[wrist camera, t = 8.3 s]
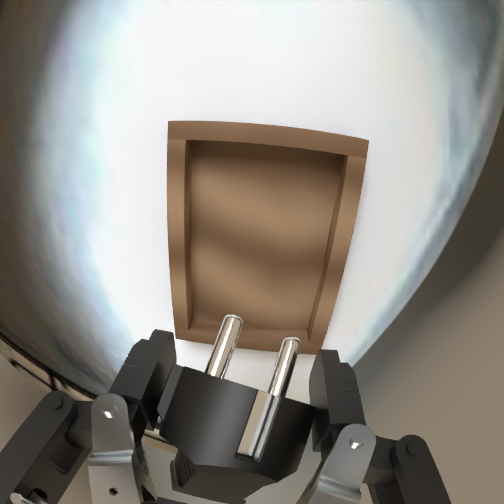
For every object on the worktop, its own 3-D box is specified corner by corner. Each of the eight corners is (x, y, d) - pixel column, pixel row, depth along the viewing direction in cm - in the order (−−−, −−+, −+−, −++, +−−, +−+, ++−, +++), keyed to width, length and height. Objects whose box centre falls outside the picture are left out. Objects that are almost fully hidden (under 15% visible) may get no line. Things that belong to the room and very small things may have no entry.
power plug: (146, 430, 15) (124, 501, 5) (184, 332, 19) (210, 274, 9) (225, 456, 16) (302, 535, 6) (258, 361, 20) (364, 336, 9)
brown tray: (180, 120, 18) (168, 121, 16) (358, 137, 18) (368, 140, 16) (183, 321, 26) (175, 338, 24) (316, 335, 25) (319, 354, 23)
